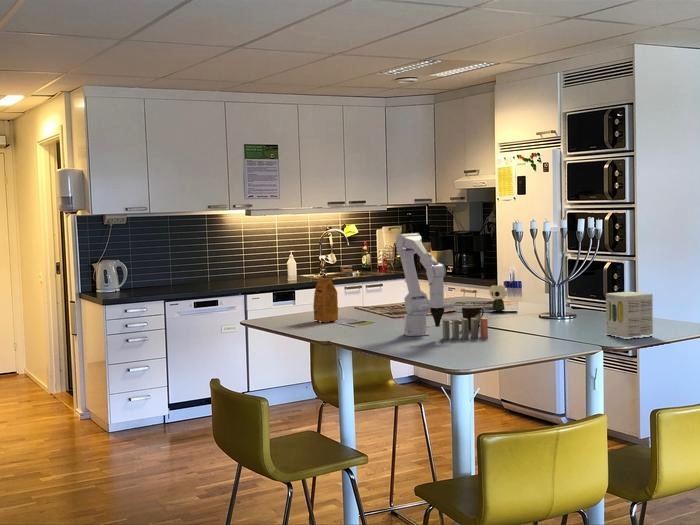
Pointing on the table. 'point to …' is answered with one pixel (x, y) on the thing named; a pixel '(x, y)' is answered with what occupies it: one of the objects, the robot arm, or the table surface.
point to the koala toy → (498, 297)
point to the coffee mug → (472, 313)
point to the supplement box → (629, 314)
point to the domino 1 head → (446, 329)
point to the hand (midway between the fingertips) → (437, 326)
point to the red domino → (483, 327)
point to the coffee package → (325, 301)
